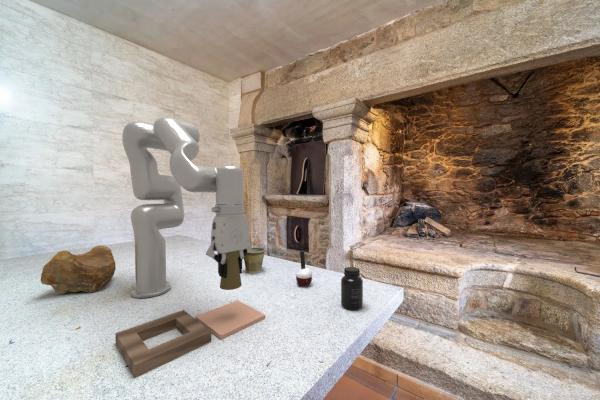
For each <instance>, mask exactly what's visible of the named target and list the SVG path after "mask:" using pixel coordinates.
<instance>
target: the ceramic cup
mask: <svg viewBox="0 0 600 400" xmlns="http://www.w3.org/2000/svg"><path fill="white" fill-rule="evenodd" d="M265 253H266V249H265V248H263V247H257V246H256V247H255V246H252V247H251V248H250V249H249V250H248V251H247V253H246V254H245V256H244V259H243V260H244V261H243V262H244V269H245V272H246V273H247V274H249V275H256V274H259V273H261V272H262V269H263V268H262V267H263V262H264V257H265Z"/></svg>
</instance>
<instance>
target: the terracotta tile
mask: <svg viewBox="0 0 600 400" xmlns="http://www.w3.org/2000/svg"><path fill="white" fill-rule="evenodd" d="M195 319H196V320H197V321H199V322H200V323H201V324H202V325H204V326H205V327H206V328H207V329H209V330H210V331H211V334H213V335H214V336H215V337H217V338H218V339H219V340H224V339H225V338H227V337H229V336H232V335H234V334H236V333H238V332H239V331H242V330H244V329H246V328H249V327H250V326H253V325H255V324H257V323H259V322H260V321H263V320H265V319H266V315H265V314H264V313H262V312H261V311H259V310H257V309H255V308H254V307H252V306H249V305H247V304H246V303H244V302H242V301H240V300H239V299H238V300H235V301H232V302H230V303H227V304H223V305H220V306H219V307H216V308H212V309H211V310H208V311H205V312H202V313H200V314H198V315H195Z"/></svg>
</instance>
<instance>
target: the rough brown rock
mask: <svg viewBox="0 0 600 400" xmlns="http://www.w3.org/2000/svg"><path fill="white" fill-rule="evenodd" d="M116 269H117V268H116V260H115V258H114V255H113V252H112V249H111V248H110V247H108V246H107V245H95V246H93V247H92V248H91V249H90V250H89V251H87V252H86V253H80V254H73V253H71V252H70V251H68V250H60V251H57V253H56V254H55V255H54V256H53V257H51V258H50V260H49V261H48V262H47V263H45V265H44V266H43V268H42V272H41V274H40V283H41V284H43V285H46V286H51V287H52V289H53V291H55V293H56V294H58V295H65V293H66V294H67V293H70V292H71V293H78V292H85V293H91V292H92V293H96V291H97V290H99V289H101V287H102V286H104V285H105V283H106V282H109V281H110V280H112V279H113V277H114V275H115V272H116ZM92 293H91V294H92Z"/></svg>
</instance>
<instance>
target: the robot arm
mask: <svg viewBox="0 0 600 400" xmlns="http://www.w3.org/2000/svg"><path fill="white" fill-rule="evenodd" d="M200 136H201V133H200V131H199V129H198V127H197V126H196V125H195V124H194V123H191V122H190V121H189V122H188V121H184V120H181V119H178V118H174V117H170V116H163V117H160V118H157V119H156V120H155V121H154V123H149V122H145V121H144V122H143V121H131V122H127V124H126V125H125V126H124V128H123V130H122V135H121V139H122V145H123V149H124V151H125V154H126V157H127V159H128V164H129V169H130V170H129V171H130V178H131V179H130V180H131V186H132V192H133V195H134V197H135V198H136V199H137V200H140V201H163V203H146V204H141V205H140V204H139V205H137V206H136V207H134V208H133V209H132V210H131V213H130V220H131V221H130V222H131V226H132V230H133V238H134V265H135V268H134V269H135V287H133V288H132V289H131V290H130V292H129V293H130V297H132V298H136V299H145V298H153V297H157V296H158V297H159V296H160V295H163V294H165V293H167V292H168V291H170V290H171V289H172V283H170V282H167V259H166V258H167V251H166V250H167V249H166V248H167V246H166V244H167V243H166V239H165V237H164V236H163V235H162V234H161V232H160V230H166V229H172V228H177V227H179V226H181V225H182V224H183V222H184V218H185V209H184V200H183V193H182V189H184V190H185V191H187V192H189V193H215V206H213V207H212V208H211V212H212V213H214V214H215V215H214V216H213V219H212V224H211V232H210V234H211V235H210V245H209V247H208V249H207V251H206V253H205V255H206V256H208V257H210V258H212V260H214V261H215V262H216V263H217V272H218V275H219V277H220V278H221V277H223V278H227V264H226V263H225V260H226V253H230V252H235V251H240V256H239V258H238V263H239V270H240V275H241V274H242V273H243V260H244V256H245V254H246V253H247V251H248V250H249V249H250V248H251V247H253V245H252V243H251V242H250V241H251V240H250V237H251V236H250V227H249V222H248V221H249V220H248V217H247V214H244V212H245V210H244V209H245V208H244V204H245V203H244V201H245V200H244V170H243V168H241V167H240V166H236V165H235V166H234V165H221V166H218V167H215V166H214V167H213V166H206V165H198V164H194V163H193V162H191V161H193V160H194V159H195V158H196V157H197V156H198V154H199V151H200V148H199V147H200V145H199V141H200V138H201V137H200ZM148 149H155V150H159V151H167V152H169V154H170V157H169V170H170V173H171V175H166V174H164V175H163V174H161V173H159V169H158V163H157V160H156V158H155V157H154V155H153V154H152V153H151V152H150V151H149V150H148ZM215 252H217V253H215Z"/></svg>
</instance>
